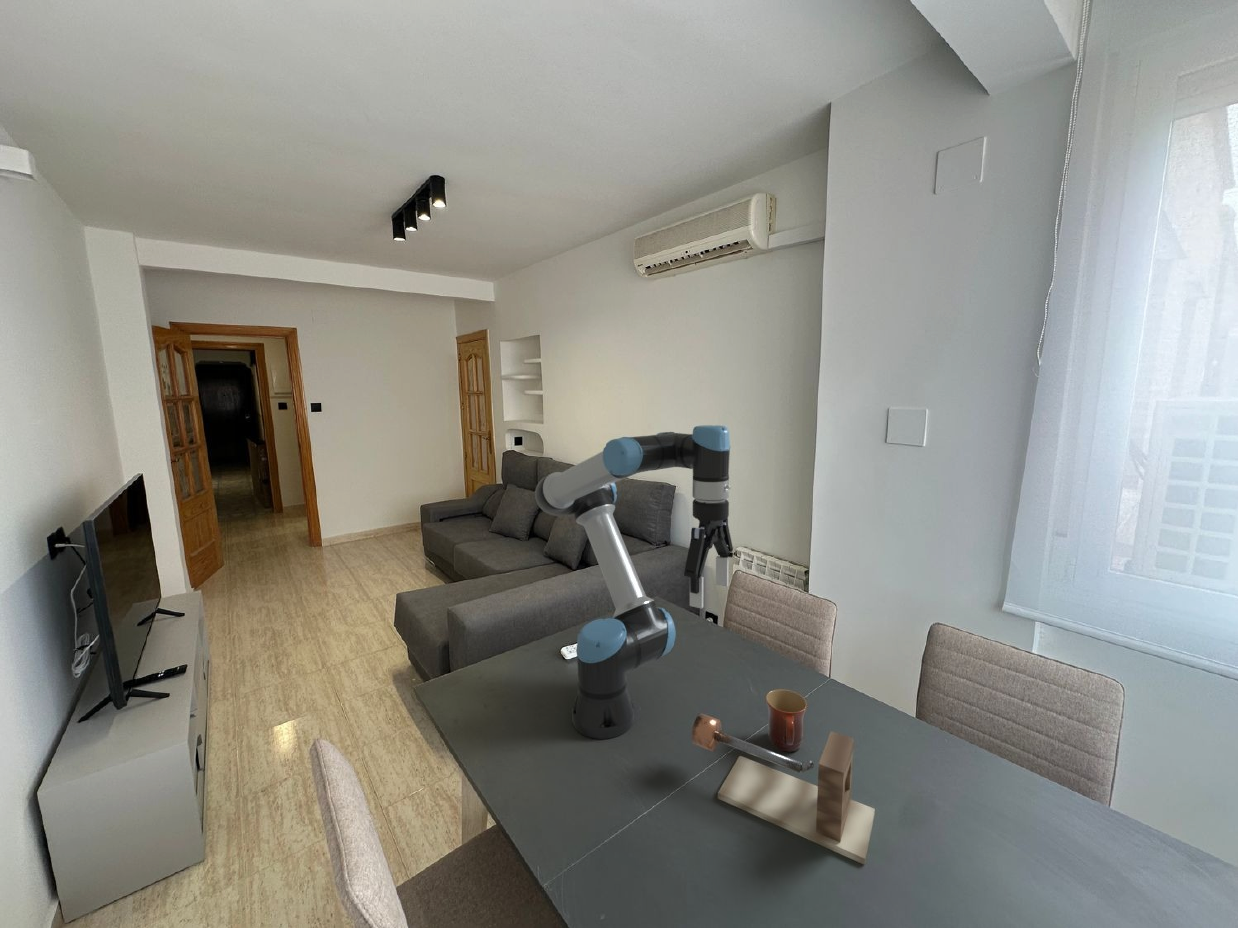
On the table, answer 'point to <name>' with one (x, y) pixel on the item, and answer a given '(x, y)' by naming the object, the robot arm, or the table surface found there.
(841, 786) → the eye block
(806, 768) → the copper and grey mallet
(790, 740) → the mug
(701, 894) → the table surface
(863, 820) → the board
